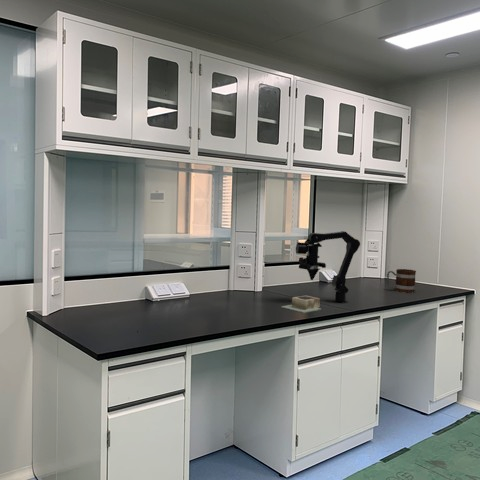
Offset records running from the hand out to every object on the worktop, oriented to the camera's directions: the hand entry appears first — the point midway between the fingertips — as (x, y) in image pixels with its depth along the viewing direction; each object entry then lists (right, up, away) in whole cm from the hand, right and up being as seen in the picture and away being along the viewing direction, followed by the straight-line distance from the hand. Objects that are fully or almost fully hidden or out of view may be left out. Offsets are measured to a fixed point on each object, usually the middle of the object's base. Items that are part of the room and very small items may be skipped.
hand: (311, 280), depth 283 cm
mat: (-9, -14, -20) cm, 26 cm away
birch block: (-2, -11, -14) cm, 18 cm away
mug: (+70, -12, +51) cm, 88 cm away
